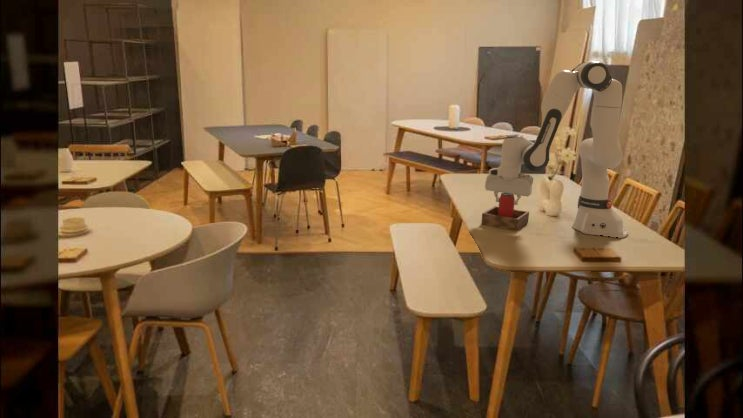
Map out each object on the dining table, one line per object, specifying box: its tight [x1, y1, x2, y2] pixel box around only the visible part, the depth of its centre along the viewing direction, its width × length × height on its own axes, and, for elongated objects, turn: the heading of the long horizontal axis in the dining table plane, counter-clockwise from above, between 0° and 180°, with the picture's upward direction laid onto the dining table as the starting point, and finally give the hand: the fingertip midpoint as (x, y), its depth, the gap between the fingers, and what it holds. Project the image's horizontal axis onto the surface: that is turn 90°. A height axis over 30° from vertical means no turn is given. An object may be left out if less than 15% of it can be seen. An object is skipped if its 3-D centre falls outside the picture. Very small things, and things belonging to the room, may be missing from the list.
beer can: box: [498, 192, 516, 218], centre depth 251 cm, size 7×7×12 cm
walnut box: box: [481, 205, 530, 232], centre depth 252 cm, size 16×16×5 cm
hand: (506, 203), depth 251 cm, fingers closed on beer can, 7 cm apart
